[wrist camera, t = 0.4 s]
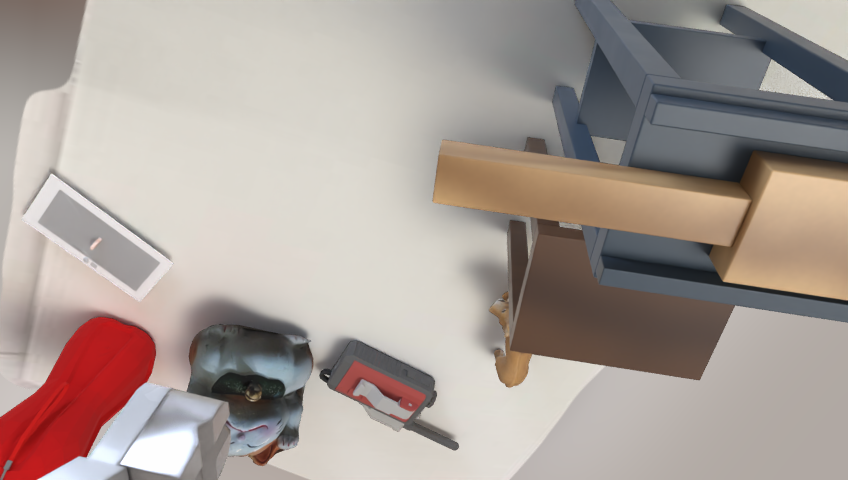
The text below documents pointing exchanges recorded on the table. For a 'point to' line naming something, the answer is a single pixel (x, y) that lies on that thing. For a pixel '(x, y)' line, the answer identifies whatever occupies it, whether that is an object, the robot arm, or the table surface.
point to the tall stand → (698, 133)
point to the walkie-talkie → (385, 389)
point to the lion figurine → (508, 349)
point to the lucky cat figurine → (253, 385)
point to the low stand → (599, 308)
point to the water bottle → (75, 399)
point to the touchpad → (96, 239)
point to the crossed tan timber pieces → (677, 208)
